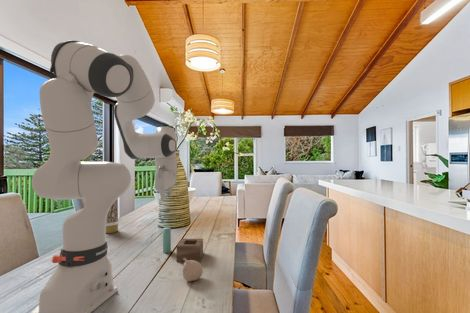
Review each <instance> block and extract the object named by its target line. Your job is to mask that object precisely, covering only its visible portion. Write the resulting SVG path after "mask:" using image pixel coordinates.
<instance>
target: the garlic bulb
mask: <svg viewBox="0 0 470 313" xmlns="http://www.w3.org/2000/svg"><path fill="white" fill-rule="evenodd" d="M183 260H185V262H183V267H182V277H183V279H184V280H185V281H187V282H193V281H197V280H199V279H201V277H202V275H203V272H204V271H203V266H202V264H201V263H200V262H197V261H194V260H187V259H186V258H183Z"/></svg>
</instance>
